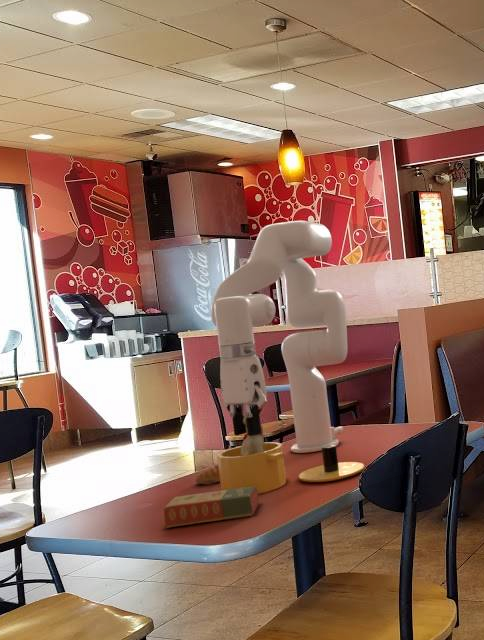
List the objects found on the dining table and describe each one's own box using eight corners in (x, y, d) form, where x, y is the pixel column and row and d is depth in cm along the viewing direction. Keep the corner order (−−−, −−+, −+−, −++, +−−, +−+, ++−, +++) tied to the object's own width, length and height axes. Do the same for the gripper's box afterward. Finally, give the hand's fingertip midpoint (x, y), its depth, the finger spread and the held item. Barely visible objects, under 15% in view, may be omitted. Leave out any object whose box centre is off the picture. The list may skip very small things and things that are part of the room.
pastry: (201, 487, 171) (199, 471, 171) (192, 483, 176) (190, 467, 176) (241, 477, 177) (239, 461, 177) (231, 474, 182) (229, 458, 182)
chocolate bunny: (275, 450, 167) (269, 406, 167) (249, 459, 160) (243, 413, 160) (257, 450, 170) (252, 407, 169) (231, 459, 163) (225, 414, 163)
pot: (250, 476, 176) (246, 441, 176) (307, 480, 166) (302, 443, 166) (201, 494, 165) (196, 456, 165) (258, 499, 155) (253, 459, 154)
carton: (177, 516, 148) (174, 495, 148) (259, 504, 151) (257, 483, 150) (165, 529, 140) (162, 506, 140) (253, 516, 142) (250, 494, 142)
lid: (332, 465, 179) (328, 438, 179) (377, 467, 171) (374, 439, 171) (285, 482, 167) (281, 453, 166) (332, 486, 159) (328, 455, 158)
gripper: (276, 348, 163) (286, 431, 164) (227, 351, 172) (237, 430, 173) (249, 353, 157) (259, 439, 157) (199, 356, 166) (209, 437, 167)
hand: (247, 433), depth 165 cm, fingers closed on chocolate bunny, 3 cm apart
